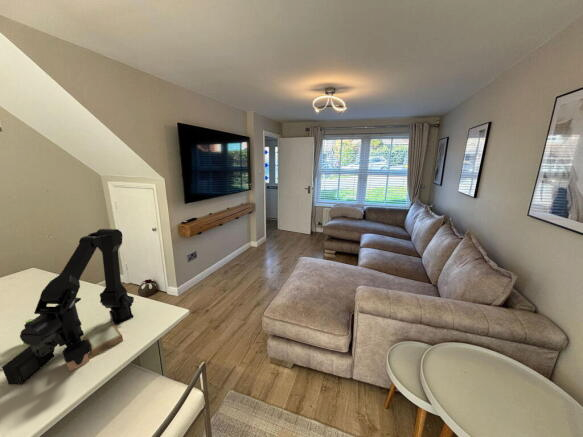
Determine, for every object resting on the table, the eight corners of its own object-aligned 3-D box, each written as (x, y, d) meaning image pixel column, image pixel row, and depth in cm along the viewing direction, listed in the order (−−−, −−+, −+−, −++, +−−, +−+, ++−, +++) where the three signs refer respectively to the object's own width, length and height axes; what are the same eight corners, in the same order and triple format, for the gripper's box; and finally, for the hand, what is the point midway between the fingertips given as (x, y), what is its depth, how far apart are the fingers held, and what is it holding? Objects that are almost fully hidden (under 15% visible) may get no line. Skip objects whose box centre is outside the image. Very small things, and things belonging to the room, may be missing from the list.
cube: (85, 353, 84) (82, 341, 82) (89, 361, 81) (86, 349, 79) (66, 362, 80) (62, 351, 78) (69, 371, 77) (66, 359, 75)
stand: (114, 329, 95) (113, 324, 94) (123, 340, 90) (122, 334, 89) (86, 343, 88) (84, 337, 87) (93, 355, 83) (91, 349, 82)
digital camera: (26, 385, 72) (19, 367, 70) (8, 385, 72) (1, 366, 70) (58, 356, 82) (53, 340, 80) (42, 356, 82) (37, 339, 80)
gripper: (25, 321, 75) (38, 360, 79) (35, 351, 64) (49, 395, 68) (71, 304, 83) (81, 340, 88) (87, 328, 73) (97, 368, 77)
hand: (77, 359), depth 80 cm, fingers closed on cube, 5 cm apart
